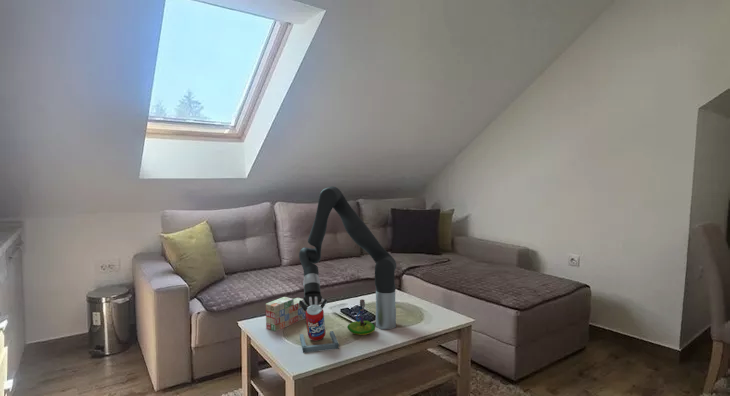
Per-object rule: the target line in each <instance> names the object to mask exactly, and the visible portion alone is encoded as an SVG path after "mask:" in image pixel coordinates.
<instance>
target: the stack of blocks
mask: <svg viewBox="0 0 730 396" xmlns="http://www.w3.org/2000/svg"><path fill="white" fill-rule="evenodd" d="M303 299H304V298H300V297H296V298H290V297H287V296H283V297H280V298H278V299H274V300H272V301H269V302H267V303H265V322H266V323H265V327H266V329H267V330H270V331H273V332H277V331H279V330H282V329H284V328H286V327H288V326H291V325H292V324H295V323H297V322H299V321H301V320H304V319H306V315H305V313H306V312H305V311H304V310H303V308H302V307H301V306H300V305H299V301H300V300H301V301H302V300H303ZM305 305H306V306H307V304H306V303H305Z"/></svg>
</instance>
